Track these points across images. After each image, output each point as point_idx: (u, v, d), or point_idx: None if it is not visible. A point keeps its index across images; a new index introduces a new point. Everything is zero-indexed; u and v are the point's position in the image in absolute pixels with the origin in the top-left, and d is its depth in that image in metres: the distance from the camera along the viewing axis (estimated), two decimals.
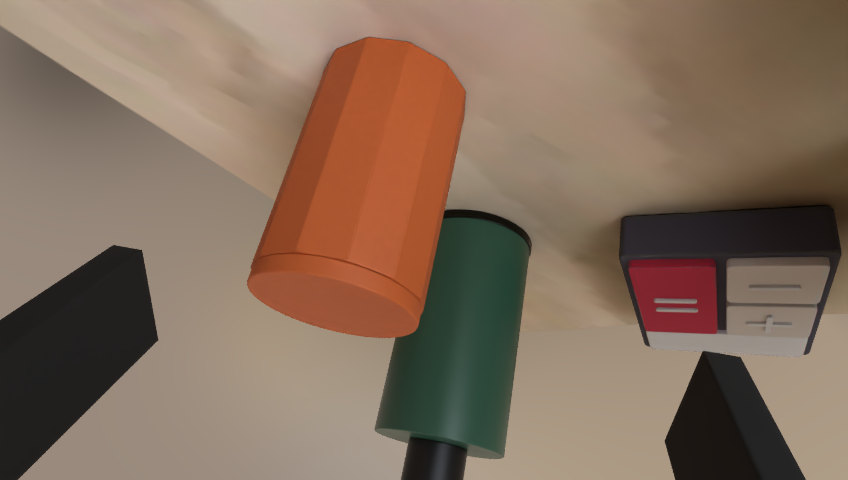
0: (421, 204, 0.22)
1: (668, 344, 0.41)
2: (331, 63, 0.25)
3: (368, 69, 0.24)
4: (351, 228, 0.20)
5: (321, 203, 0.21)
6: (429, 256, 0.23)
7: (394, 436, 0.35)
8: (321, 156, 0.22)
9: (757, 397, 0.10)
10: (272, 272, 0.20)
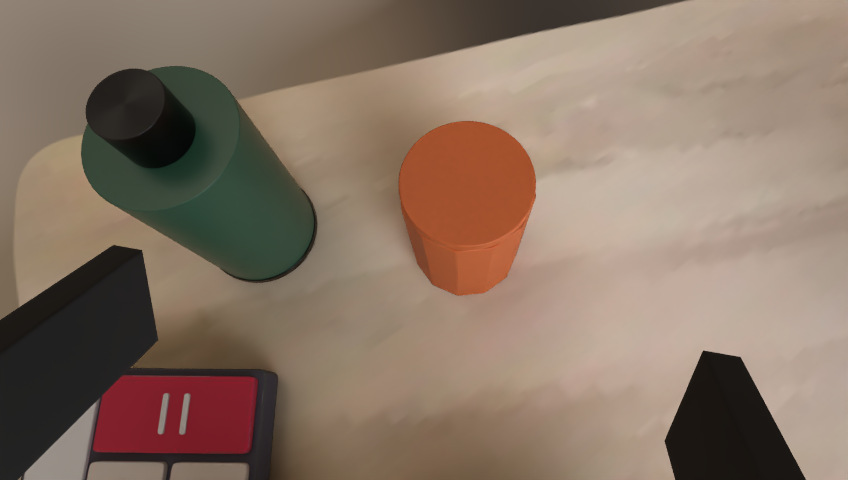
0: (479, 267, 0.32)
1: None
2: None
3: (516, 252, 0.38)
4: (521, 232, 0.30)
5: (528, 216, 0.31)
6: (456, 261, 0.30)
7: (178, 84, 0.28)
8: None
9: (757, 397, 0.10)
10: (534, 174, 0.29)
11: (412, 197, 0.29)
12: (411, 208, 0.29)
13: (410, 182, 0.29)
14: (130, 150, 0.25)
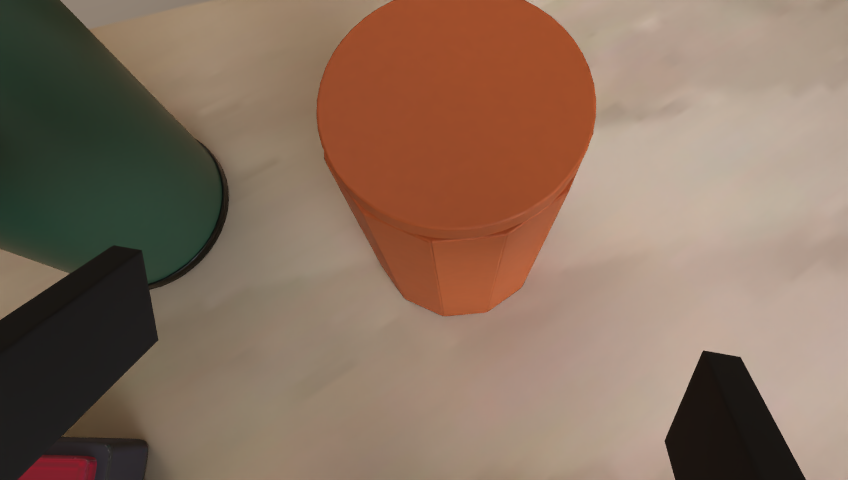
0: (478, 273, 0.17)
1: None
2: None
3: None
4: (560, 206, 0.15)
5: None
6: (434, 262, 0.16)
7: None
8: None
9: (757, 397, 0.10)
10: (592, 85, 0.14)
11: (342, 129, 0.14)
12: (339, 151, 0.14)
13: (340, 100, 0.14)
14: None
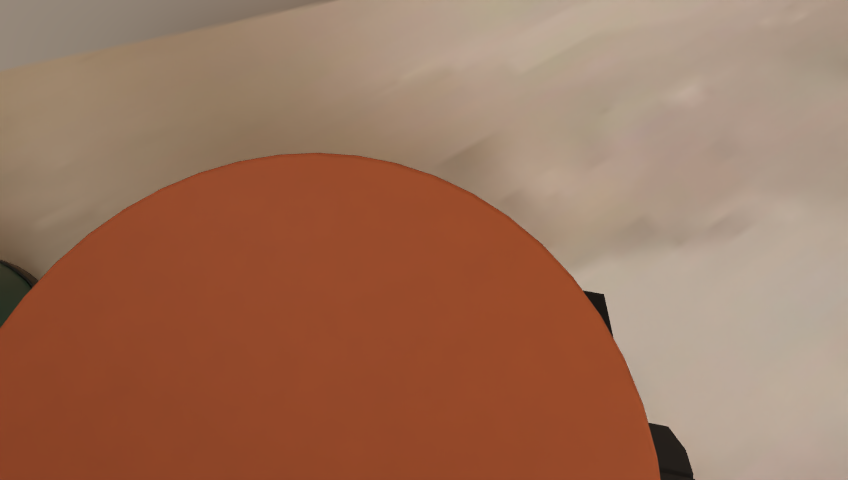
0: None
1: None
2: None
3: None
4: None
5: None
6: None
7: None
8: None
9: (606, 323, 0.12)
10: (655, 465, 0.05)
11: None
12: None
13: None
14: None
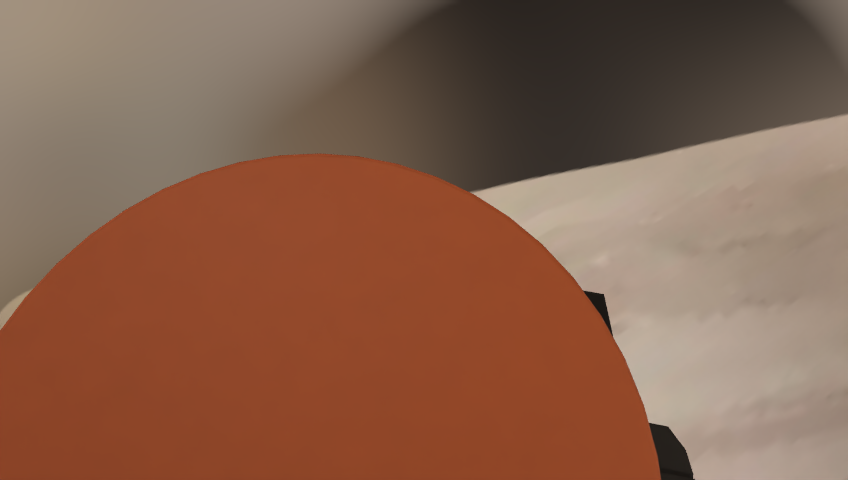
0: None
1: None
2: None
3: None
4: None
5: None
6: None
7: None
8: None
9: (606, 323, 0.12)
10: (656, 465, 0.05)
11: None
12: None
13: None
14: None
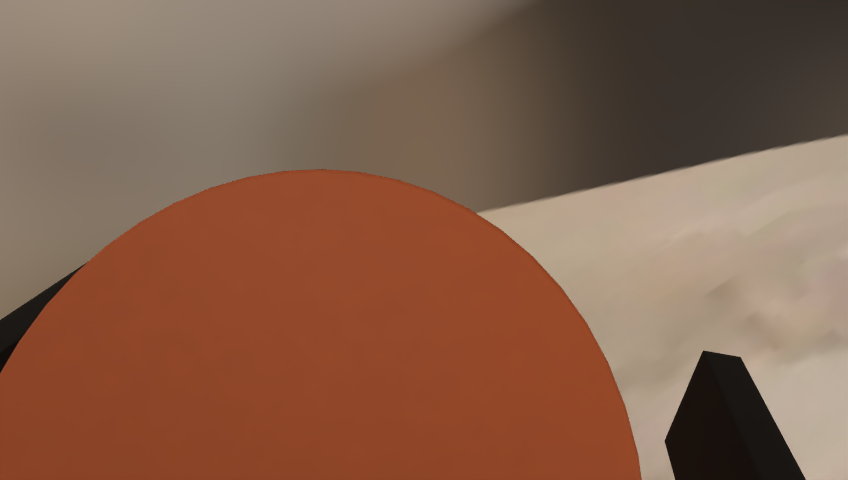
0: None
1: None
2: None
3: None
4: None
5: None
6: None
7: None
8: None
9: (757, 397, 0.10)
10: (636, 462, 0.06)
11: None
12: None
13: None
14: None
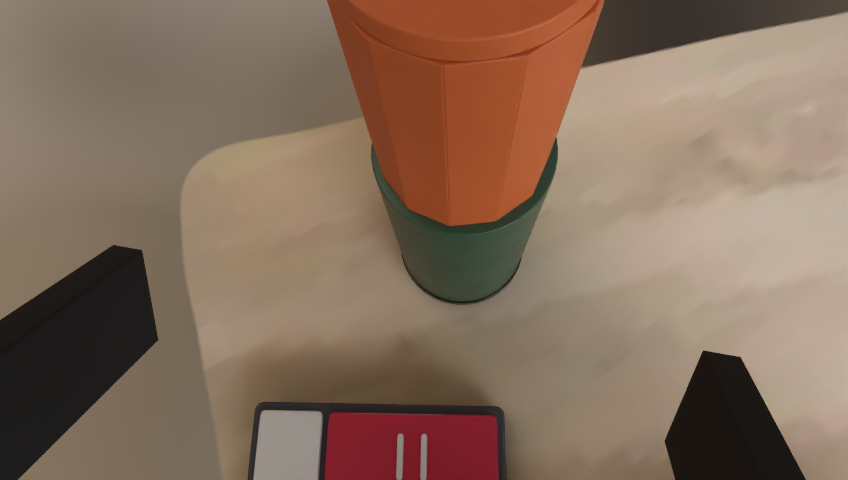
0: (491, 138, 0.16)
1: (279, 434, 0.31)
2: None
3: (551, 147, 0.22)
4: (584, 44, 0.14)
5: (595, 24, 0.15)
6: (444, 110, 0.14)
7: None
8: None
9: (757, 397, 0.10)
10: None
11: None
12: None
13: None
14: None
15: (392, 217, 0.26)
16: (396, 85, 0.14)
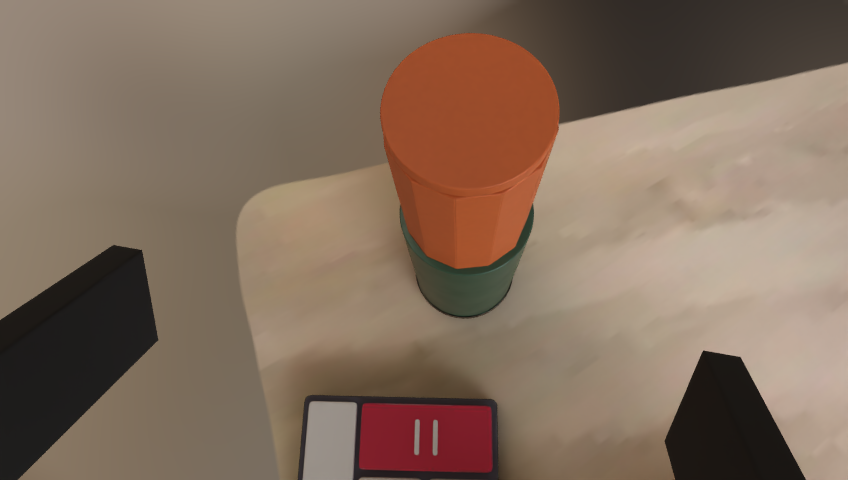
0: (484, 225, 0.25)
1: (323, 420, 0.41)
2: None
3: (527, 215, 0.31)
4: (538, 177, 0.23)
5: (547, 159, 0.24)
6: (455, 215, 0.24)
7: None
8: None
9: (757, 397, 0.10)
10: (557, 98, 0.22)
11: (398, 127, 0.22)
12: (396, 141, 0.22)
13: (395, 108, 0.22)
14: None
15: (413, 258, 0.35)
16: (426, 200, 0.23)
